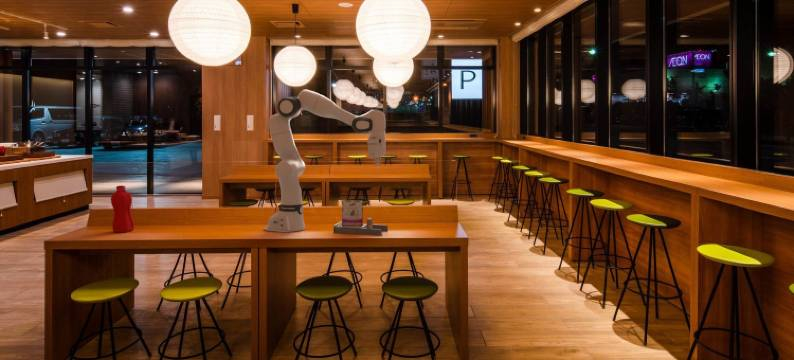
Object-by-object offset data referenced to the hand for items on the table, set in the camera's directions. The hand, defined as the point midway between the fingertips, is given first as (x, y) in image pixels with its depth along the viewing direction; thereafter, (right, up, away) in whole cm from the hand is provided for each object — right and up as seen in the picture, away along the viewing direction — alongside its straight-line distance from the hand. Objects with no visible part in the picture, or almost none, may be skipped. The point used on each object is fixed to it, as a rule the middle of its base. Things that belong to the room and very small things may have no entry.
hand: (377, 165), depth 288 cm
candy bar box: (-14, -36, -3) cm, 39 cm away
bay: (-9, -36, -4) cm, 37 cm away
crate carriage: (-12, -35, -3) cm, 37 cm away
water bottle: (-137, -36, -1) cm, 142 cm away
